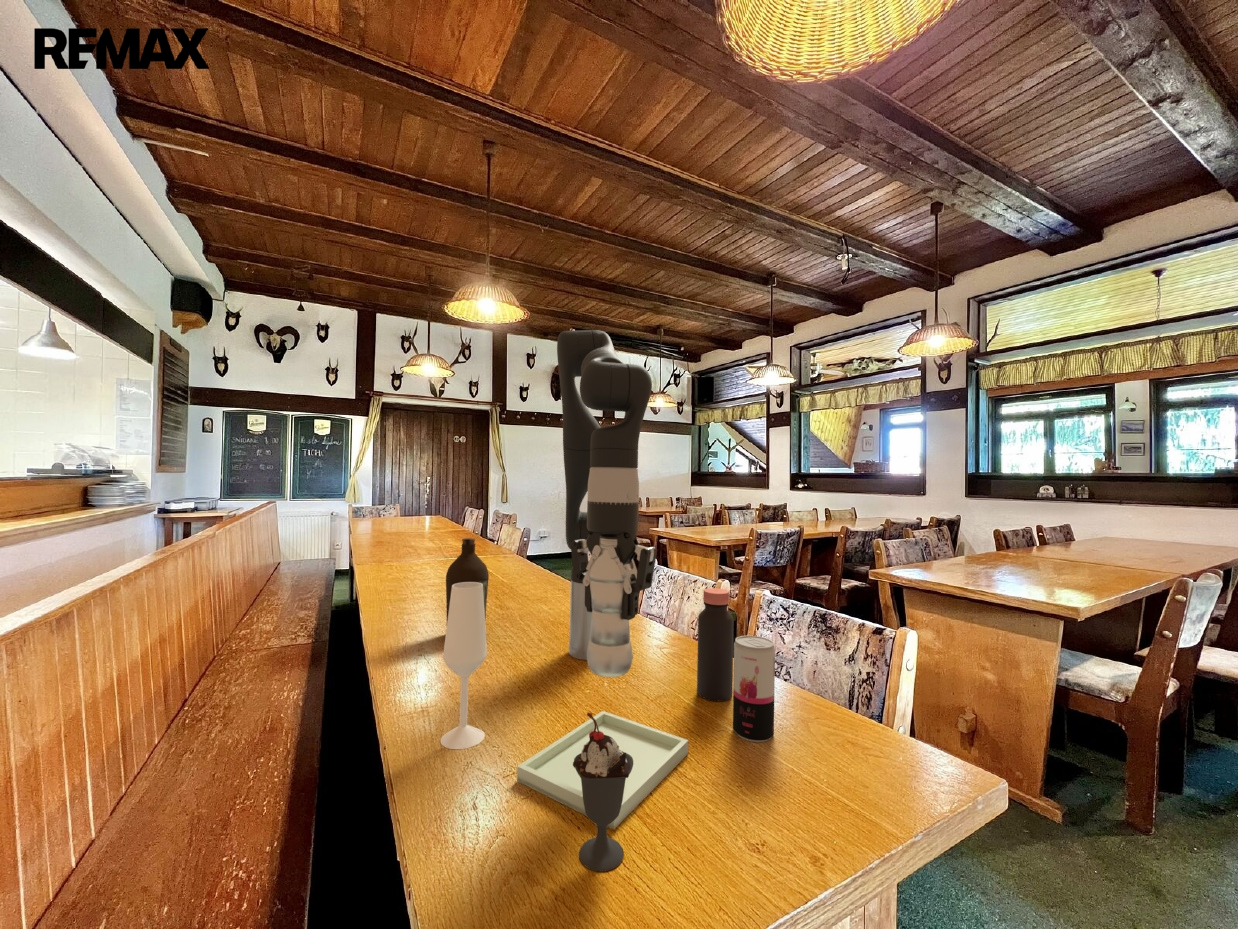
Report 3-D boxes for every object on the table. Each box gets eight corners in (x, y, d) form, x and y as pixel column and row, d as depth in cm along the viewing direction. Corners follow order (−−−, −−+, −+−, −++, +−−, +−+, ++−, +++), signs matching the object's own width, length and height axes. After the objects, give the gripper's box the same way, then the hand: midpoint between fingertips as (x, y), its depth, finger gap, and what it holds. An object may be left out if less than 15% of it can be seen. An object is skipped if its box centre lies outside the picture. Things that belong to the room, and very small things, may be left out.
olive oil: (436, 635, 128) (440, 538, 129) (474, 627, 136) (477, 535, 136) (455, 645, 121) (459, 542, 121) (494, 636, 128) (497, 539, 129)
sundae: (570, 834, 58) (574, 703, 58) (628, 832, 58) (630, 702, 59) (570, 880, 51) (573, 732, 52) (634, 877, 52) (637, 731, 52)
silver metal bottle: (628, 685, 68) (631, 539, 68) (580, 680, 69) (584, 537, 70) (635, 668, 74) (639, 534, 75) (592, 663, 76) (595, 532, 76)
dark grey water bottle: (739, 694, 96) (740, 591, 97) (720, 705, 92) (722, 596, 92) (709, 684, 101) (710, 585, 102) (690, 694, 96) (691, 590, 97)
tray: (602, 722, 84) (602, 710, 84) (688, 753, 75) (688, 740, 75) (517, 781, 68) (517, 766, 68) (614, 829, 59) (614, 812, 59)
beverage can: (751, 747, 77) (753, 650, 78) (724, 728, 83) (726, 638, 84) (782, 738, 81) (783, 644, 81) (754, 720, 86) (755, 633, 87)
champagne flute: (439, 731, 80) (443, 582, 81) (481, 724, 83) (485, 579, 83) (441, 753, 74) (446, 591, 75) (487, 744, 77) (492, 588, 77)
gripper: (668, 500, 72) (666, 617, 71) (589, 496, 80) (586, 602, 79) (642, 502, 65) (639, 630, 65) (558, 497, 73) (555, 612, 73)
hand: (610, 614), depth 72 cm, fingers closed on silver metal bottle, 6 cm apart
